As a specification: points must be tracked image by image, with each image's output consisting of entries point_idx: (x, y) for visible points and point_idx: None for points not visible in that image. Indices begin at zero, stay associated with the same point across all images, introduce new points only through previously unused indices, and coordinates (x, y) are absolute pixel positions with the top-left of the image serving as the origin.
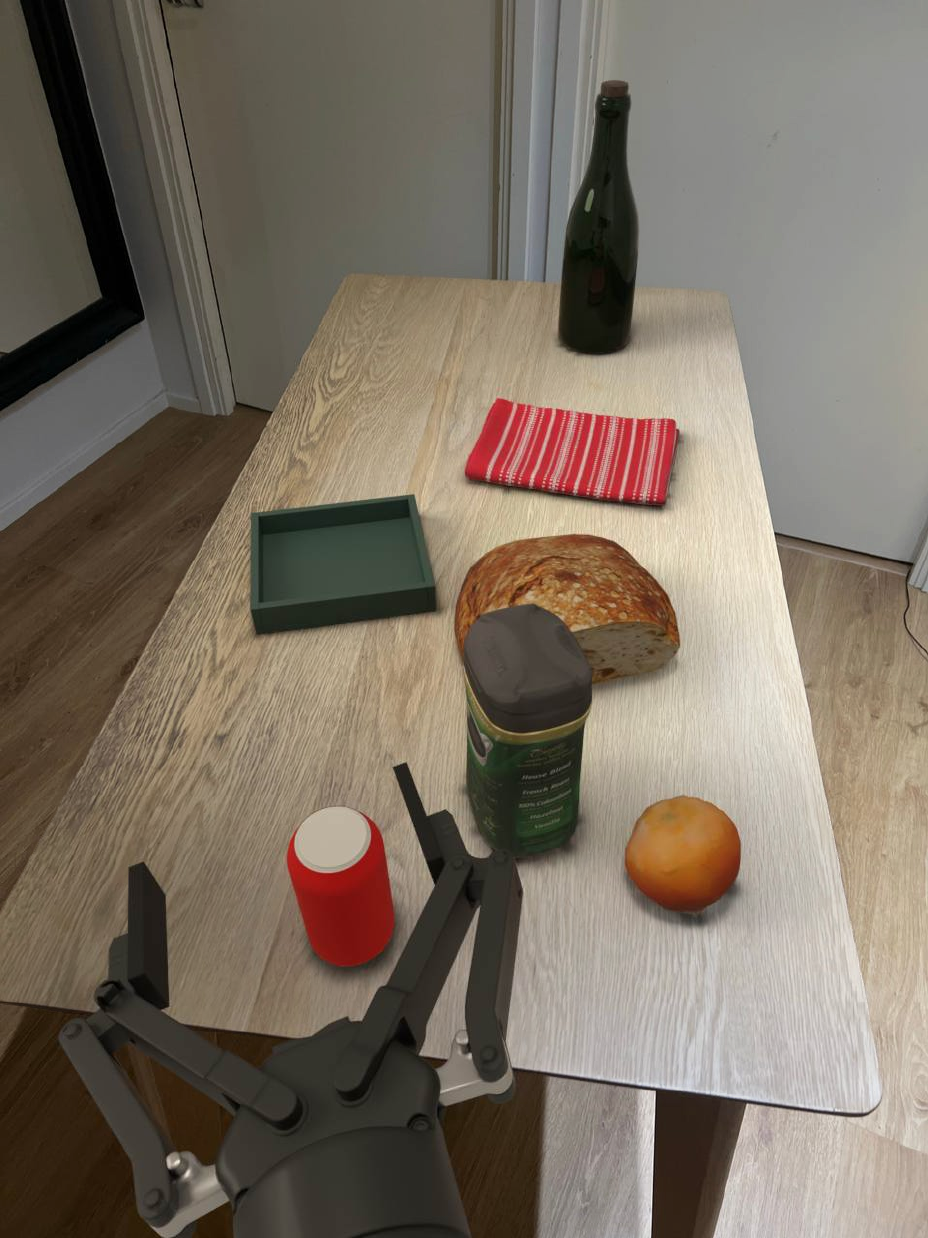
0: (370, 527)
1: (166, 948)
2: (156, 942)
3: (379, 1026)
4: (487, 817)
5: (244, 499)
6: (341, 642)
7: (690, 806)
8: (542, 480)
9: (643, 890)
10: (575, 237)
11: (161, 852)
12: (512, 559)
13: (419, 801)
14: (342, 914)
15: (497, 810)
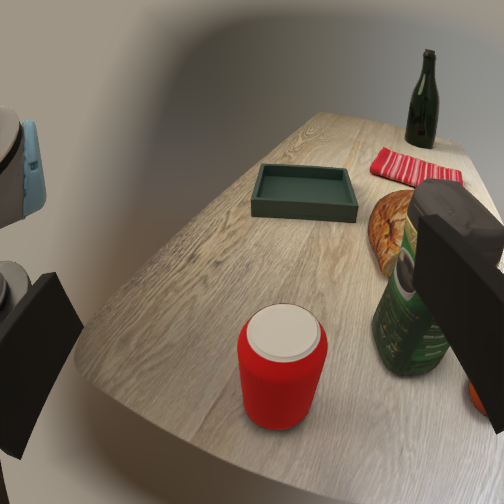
0: (321, 181)
1: (49, 386)
2: (24, 373)
3: None
4: (393, 343)
5: (258, 164)
6: (299, 228)
7: None
8: (408, 178)
9: (479, 403)
10: (415, 98)
11: (164, 318)
12: (408, 193)
13: (485, 257)
14: (276, 398)
15: (405, 338)
